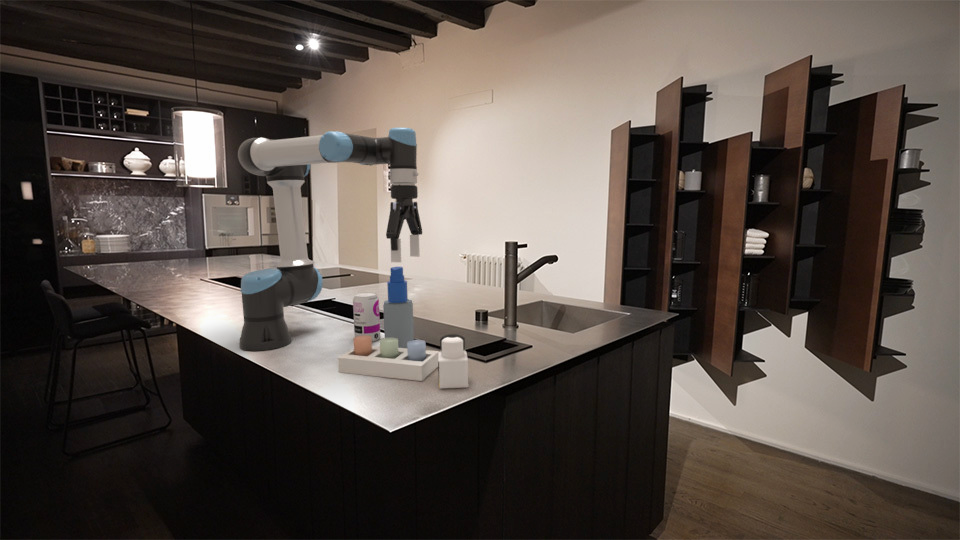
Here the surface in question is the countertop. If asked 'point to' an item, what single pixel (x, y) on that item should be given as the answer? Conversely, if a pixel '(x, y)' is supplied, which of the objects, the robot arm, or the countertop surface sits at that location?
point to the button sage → (389, 348)
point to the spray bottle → (398, 309)
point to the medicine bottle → (452, 362)
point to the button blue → (416, 350)
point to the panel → (388, 365)
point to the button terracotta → (362, 345)
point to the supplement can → (366, 315)
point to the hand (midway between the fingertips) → (406, 259)
